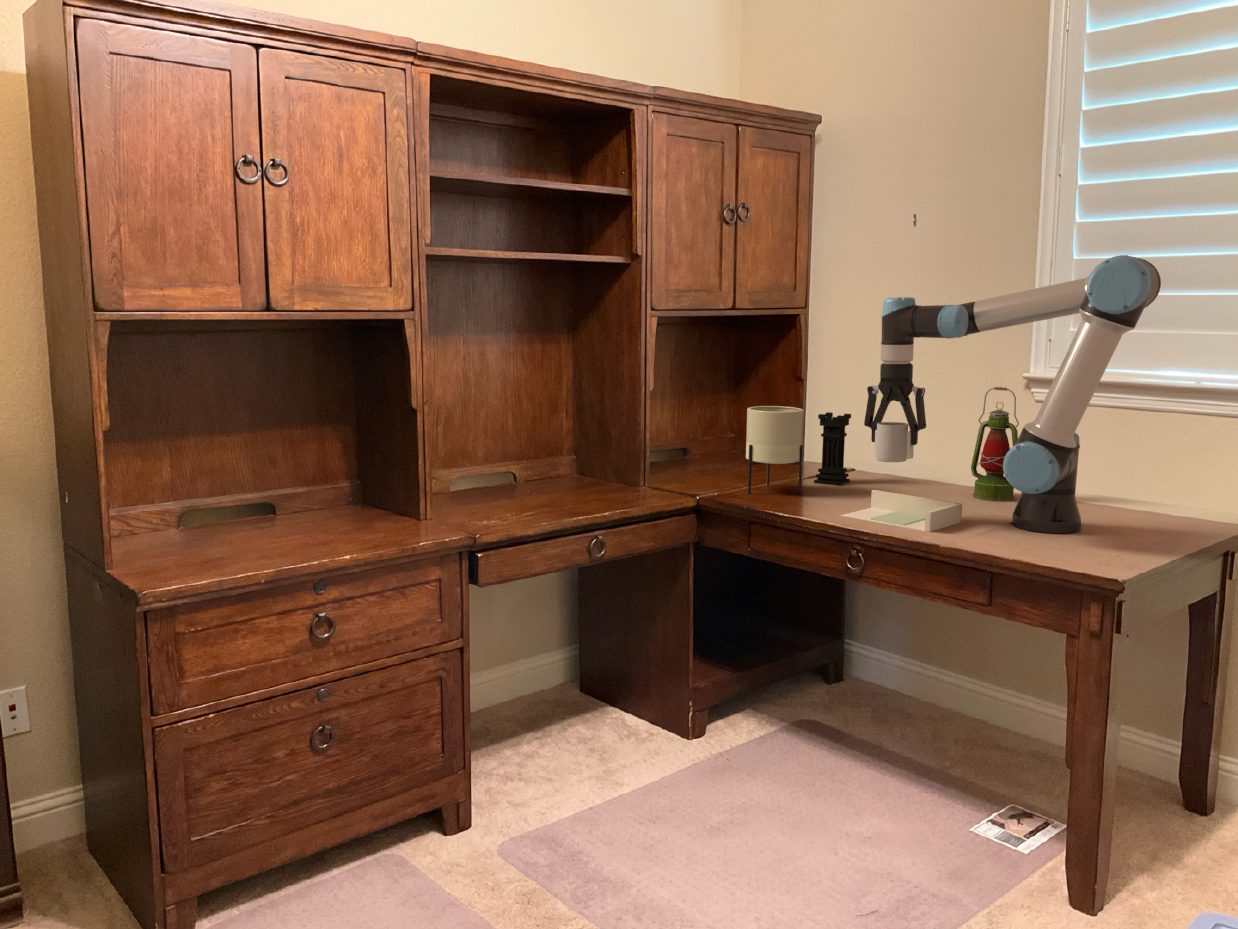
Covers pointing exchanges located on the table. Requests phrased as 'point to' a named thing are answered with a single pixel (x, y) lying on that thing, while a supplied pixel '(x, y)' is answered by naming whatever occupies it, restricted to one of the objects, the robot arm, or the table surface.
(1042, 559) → the table surface
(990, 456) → the lantern
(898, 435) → the cup
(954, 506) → the tray
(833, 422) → the chess piece
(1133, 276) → the robot arm
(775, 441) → the planter
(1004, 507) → the table surface
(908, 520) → the pad
